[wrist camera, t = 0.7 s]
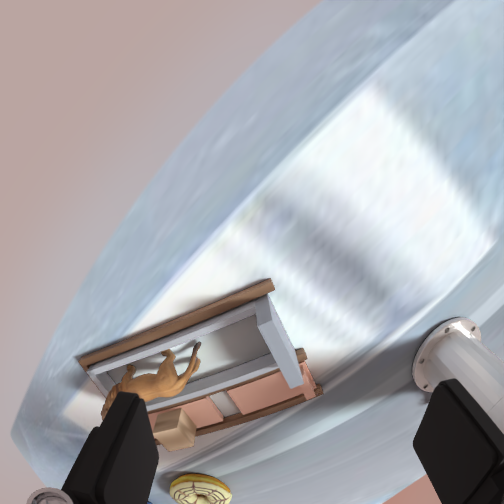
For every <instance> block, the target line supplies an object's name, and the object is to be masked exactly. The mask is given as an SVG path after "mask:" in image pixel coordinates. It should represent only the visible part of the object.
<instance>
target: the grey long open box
mask: <svg viewBox="0 0 504 504" xmlns="http://www.w3.org/2000/svg"><path fill="white" fill-rule="evenodd" d="M254 314H256V318H257V327H258V329H259V331H260V333H261V334H262V336H263V338H264V340H265V342H266V344H267V346H268V348H269V350H270V351H271V353H270V354H267V355H265V356H262V357H260V358H257V359H254V360H252V361H249V362H247V363H244V364H241V365H239V366H236V367H233V368H231V369H228V370H225V371H222V372H220V373H217V374H214V375H211V376H208V377H205V378H202V379H200V380H197V381H194V382H191V383H188V384H186V385H185V387H184V389H183V390H182V391H181V392H180V393H179V394H177V395H175V396H173V397H157V398H155V399H153V400H150V401H147V402H145V404H146V408H147V411H150V410H154V409H158V408H161V407H165V406H168V405H172V404H175V403H179V402H182V401H185V400H189V399H192V398H195V397H198V396H202V395H205V394H208V393H211V392H214V391H217V390H220V389H223V388H226V387H229V386H232V385H235V384H237V383H240V382H243V381H246V380H248V379H251V378H254V377H257V376H259V375H262V374H265V373H267V372H270V371H272V370H275V369H277V368H280V370H281V372H282V374H283V376H284V378H285V379H286V381H287V383H288V385H289V387H290V389H292V388H294V387H297V386H299V385H302V384H304V382H303V378H302V374H301V371H300V367H299V363H298V360H297V356H296V353H295V349H294V347H293V345H292V343H291V341H290V339H289V337H288V335H287V333H286V330H285V328H284V326H283V324H282V322H281V320H280V318H279V316H278V314H277V312H276V310H275V308H274V306H273V304H272V301H271V299H270V297H269V295H268V293H267V294H265V295H262V296H260V297H258V298H255V299H253V300H251V301H249V302H246V303H244V304H242V305H239V306H237V307H234V308H232V309H230V310H227V311H225V312H223V313H220V314H218V315H215V316H213V317H211V318H208V319H206V320H203V321H201V322H199V323H196V324H194V325H191V326H189V327H186V328H184V329H181V330H179V331H176V332H174V333H171V334H169V335H166V336H164V337H161V338H159V339H156V340H154V341H151V342H148V343H146V344H143V345H141V346H138V347H136V348H133V349H130V350H128V351H125V352H122V353H120V354H117V355H114V356H112V357H109V358H106V359H104V360H101V361H98V362H95V363H93V364H91V366H90V367H89V369H88V370H87V374H88V375H89V376H90V378H91V379H92V380H93V382H94V383H95V384H96V386H97V387H98V388H99V390H100V391H101V392H102V393H103V395H104V396H105V397H107V395H108V393H109V391H110V390H111V389H112V387H113V386H114V385H116V384H115V383H114V381H113V380H112V379H111V377H110V376H109V374H108V373H107V372H106V371H108V370H111V369H114V368H117V367H120V366H123V365H126V364H128V363H131V362H134V361H137V360H140V359H142V358H145V357H148V356H151V355H153V354H156V353H159V352H161V351H164V350H167V349H169V348H172V347H175V346H177V345H180V344H182V343H185V342H188V341H190V340H193V339H195V338H198V337H200V336H203V335H205V334H208V333H211V332H213V331H215V330H218V329H220V328H223V327H225V326H228V325H230V324H233V323H235V322H238V321H240V320H242V319H245V318H247V317H249V316H252V315H254Z"/></svg>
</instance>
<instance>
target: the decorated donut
mask: <svg viewBox="0 0 504 504" xmlns="http://www.w3.org/2000/svg"><path fill="white" fill-rule="evenodd" d="M170 496H171V497H172V498H173V499H174V500H175V501H176V502H177V503H179V504H229V502H230V500H231V497H232V494H231V493H230V489H229V488H228V487H227V486H226V485H225V484H224V483H222V482H221V481H219V480H218V479H216V478H214V477H212V476H208V475H202V474H186V475H183V476H180V477H179V478H178V479H176V480H174V481H173V482H172V483H171V486H170Z"/></svg>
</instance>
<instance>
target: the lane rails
mask: <svg viewBox="0 0 504 504" xmlns="http://www.w3.org/2000/svg"><path fill="white" fill-rule="evenodd" d="M274 290H275V288H274V285H273V283H272V280H271V278H270V279H268V280H265V281H263V282H261V283H259V284H256V285H254V286H252V287H249V288H247V289H245V290H243V291H240V292H238V293H236V294H233V295H231V296H229V297H227V298H224V299H222V300H220V301H217V302H215V303H213V304H210V305H208V306H206V307H203V308H201V309H198V310H196V311H194V312H191V313H189V314H187V315H184V316H182V317H179V318H177V319H175V320H172V321H170V322H167V323H165V324H163V325H160V326H158V327H155V328H153V329H150V330H148V331H145V332H143V333H141V334H138V335H136V336H133V337H131V338H128V339H126V340H123V341H121V342H118V343H116V344H113V345H111V346H108V347H106V348H103V349H100V350H98V351H95V352H93V353H90V354H88V355H85V356H82V357H81V358H80V360H79V361H78V362H79V363H80V365H81V366H82V367H83V369H84V370H85V372H86V373H87V370H88V369H89V367H90V366H91V364H93V363H95V362H98V361H101V360H104V359H106V358H109V357H112V356H114V355H117V354H120V353H122V352H125V351H128V350H130V349H133V348H136V347H138V346H141V345H143V344H146V343H148V342H151V341H154V340H156V339H159V338H161V337H164V336H166V335H169V334H171V333H174V332H176V331H179V330H181V329H184V328H186V327H189V326H191V325H194V324H196V323H199V322H201V321H203V320H206V319H208V318H211V317H213V316H215V315H218V314H220V313H223V312H225V311H227V310H230V309H232V308H234V307H237V306H239V305H242V304H244V303H246V302H249V301H251V300H253V299H255V298H258V297H260V296H262V295H265V294H267V293H269V292H271V291H274ZM295 353H296V356H297V360H298V363H299V362H301V361H304V360H306V359H307V356H306V353H305V351H304V349H303V348H301V349H299V350H296V351H295ZM279 370H280V368H277V369H275V370H272V371H270V372H267V373H265V374H262V375H259V376H257V377H254V378H251V379H248V380H246V381H243V382H240V383H237V384H235V385H232V386H229V387H226V388H223V389H220V390H217V391H214V392H211V393H208V394H205V395H202V396H198V397H195V398H192V399H189V400H185V401H182V402H179V403H175V404H172V405H168V406H165V407H161V408H158V409H154V410H150V411H147V413H151V412H155V411H159V410H163V409H166V408H170V407H173V406H177V405H180V404H184V403H187V402H190V401H194V400H197V399H200V398H203V397H206V396H210V395H213V394H216V393H219V392H222V391H225V390H228V389H231V388H233V387H236V386H239V385H242V384H245V383H248V382H250V381H253V380H256V379H258V378H261V377H264V376H266V375H269V374H272V373H274V372H277V371H279ZM88 376H89V375H88ZM89 377H90V376H89ZM91 380H92V379H91ZM92 381H93V380H92ZM94 384H95V383H94ZM95 385H96V384H95ZM316 387H317V388H315V389H314V392H315V395H316V397H317V396H320V395H322V394H324V393H323V390H322V388H321V385H320V384H317V385H316ZM97 388H98V387H97ZM98 389H99V388H98ZM101 393H102V392H101ZM102 394H103V393H102ZM105 398H106V397H105ZM313 398H315V397H313ZM311 399H312V398H311ZM308 400H310V399H308ZM305 401H307V399H306V398H305V396H304V394H300V395H298V396H295V397H292V398H290V399H287V400H284V401H282V402H279V403H276V404H273V405H271V406H268V407H265V408H262V409H259V410H256V411H253V412H250V413H247V414H244V415H243V414H242V413H238V414H235V415H232V416H229V417H226V418H223V421H221V422H218V423H215V424H211V425H207V426H204V427H200V428H196V434H195V437H196V436H200V435H203V434H207V433H211V432H215V431H218V430H222V429H225V428H229V427H232V426H236V425H239V424H242V423H245V422H248V421H252V420H255V419H258V418H261V417H264V416H267V415H270V414H272V413H275V412H278V411H281V410H284V409H286V408H289V407H292V406H294V405H297V404H300V403H302V402H305ZM154 439H155V443H156V445H160V444H161V443H160V442H159V441H158V440H157V439H156V438H154Z"/></svg>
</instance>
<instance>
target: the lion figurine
mask: <svg viewBox="0 0 504 504" xmlns="http://www.w3.org/2000/svg"><path fill="white" fill-rule="evenodd" d="M200 346H201V342H198V343H196V344H195V346H194V348H193V352H192V357H191V360H190V363H189V366H188V368H187V370H186V371H185V372H184V373H183V374H181V375H179V376H178V375H177V373H176V370H175V367H174V364H173V361H174V359H175V355H174V354H173V352H172V351H171V350H170V349H167V350H164V351H161V354H162V355H163V356H167V357H166V359H165V360H164V361H163V363H162V364H161V365H160V367H159V370H158V372H157V374H150V373H148V374H143V375H141V376H138V377H137V378H135V379H133V378H132V377H133V375H134V374H135V372H136V369H135V367H134V366H133V365H128V366H127V370H128V371H127V373H126V374H125V375H124V376H123V378H122V382H121V383H118V384H116V385H114V386H113V387H112V389H111V390H110V391H109V393H108V395H107V397H106V401H105V404H104V405H103V408H102V411H101V415H102V420H104V418H105V416H106V414H107V412H108V410H109V408H110V407H111V405H112V403H113V401H114V399H115V397H116V395H117V394H118V392H120V391H123V392H130V393H137V394H138V395H139V398H142V399H144V401H145V402H147V401H150V400H153V399H155V398H157V397H173V396H175V395H177V394H179V393H180V392H181V391H182V390H183V389H184V387H185V385H186V383H187V381H188V380H189V378H190V377H191V375H192V374H193V373H194V372H196V371H197V370H198V368H199V365H200V359H199V358H197V357H196V354H197V351H198V349H199V348H200Z"/></svg>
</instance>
